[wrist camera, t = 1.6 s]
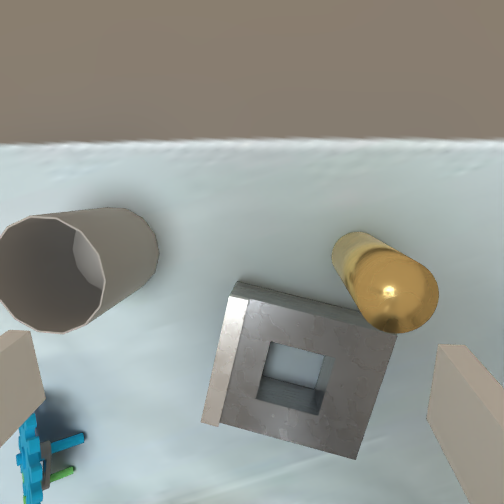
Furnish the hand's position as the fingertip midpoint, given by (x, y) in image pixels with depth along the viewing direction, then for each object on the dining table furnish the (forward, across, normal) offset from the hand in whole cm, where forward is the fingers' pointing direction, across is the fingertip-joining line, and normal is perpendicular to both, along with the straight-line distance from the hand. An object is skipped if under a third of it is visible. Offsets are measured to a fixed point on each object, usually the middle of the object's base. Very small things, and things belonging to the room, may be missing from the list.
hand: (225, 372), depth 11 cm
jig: (+20, -3, +13) cm, 24 cm away
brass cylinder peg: (+21, -8, +3) cm, 23 cm away
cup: (+22, +14, +2) cm, 26 cm away
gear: (+19, +23, +23) cm, 38 cm away
